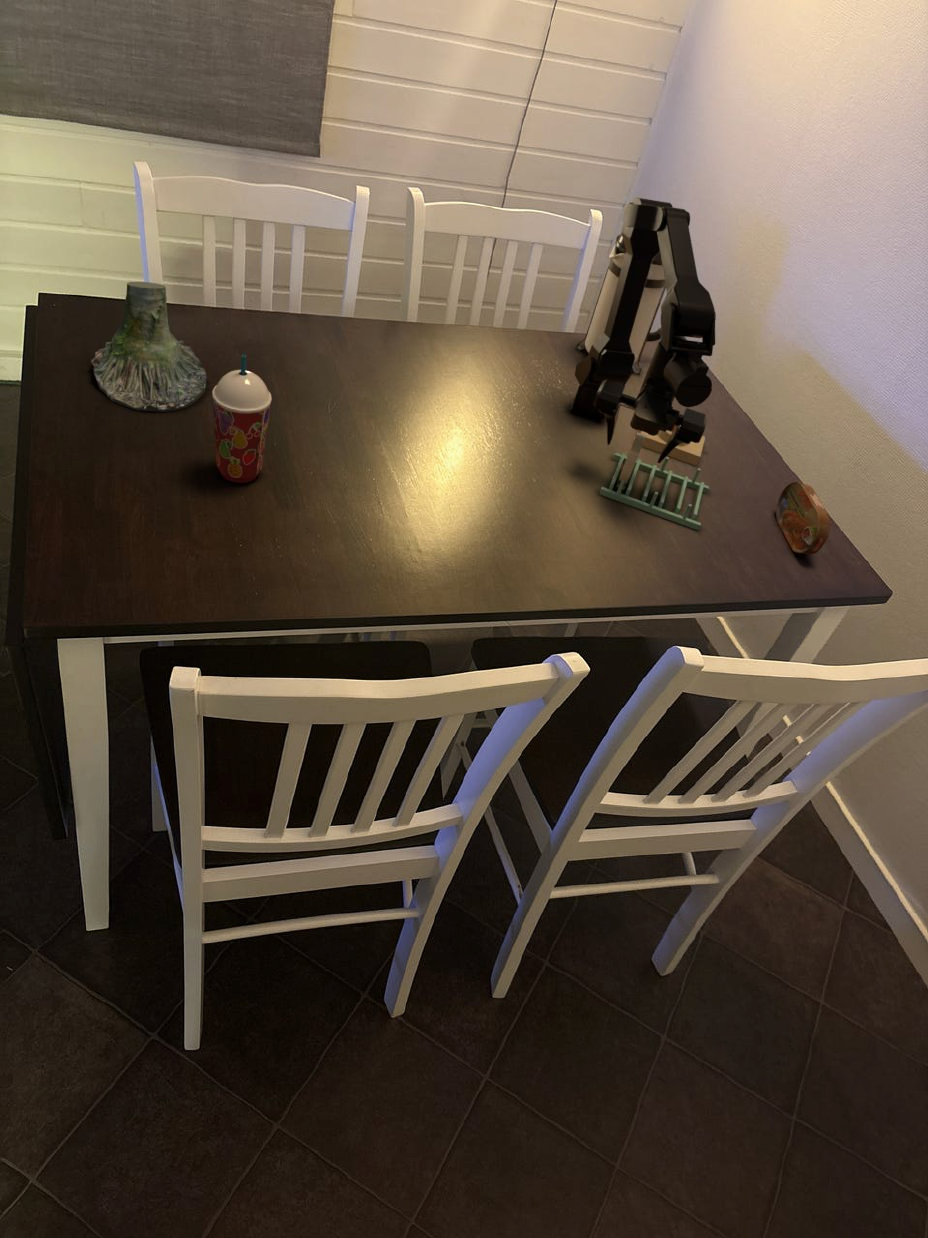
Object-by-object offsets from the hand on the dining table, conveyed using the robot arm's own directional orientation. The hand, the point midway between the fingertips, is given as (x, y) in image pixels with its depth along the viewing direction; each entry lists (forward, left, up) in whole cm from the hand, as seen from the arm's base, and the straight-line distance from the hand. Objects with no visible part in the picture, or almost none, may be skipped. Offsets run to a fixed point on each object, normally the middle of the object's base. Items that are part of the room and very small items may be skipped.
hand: (633, 452), depth 156 cm
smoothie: (-56, -36, -6) cm, 67 cm away
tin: (+31, +2, -6) cm, 32 cm away
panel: (+6, +18, -6) cm, 20 cm away
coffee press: (-11, +45, -6) cm, 47 cm away
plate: (0, 0, -6) cm, 6 cm away
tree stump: (-81, -21, -6) cm, 84 cm away
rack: (+6, 0, -6) cm, 9 cm away
